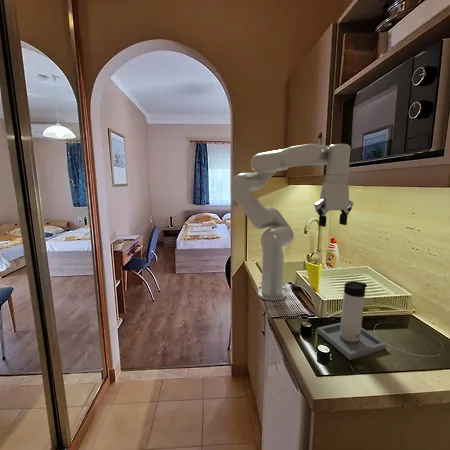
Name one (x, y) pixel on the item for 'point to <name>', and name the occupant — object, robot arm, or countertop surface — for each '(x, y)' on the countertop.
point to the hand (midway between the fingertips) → (332, 225)
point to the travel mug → (352, 312)
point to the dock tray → (351, 351)
